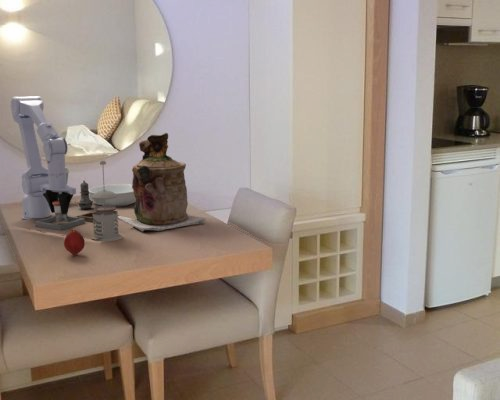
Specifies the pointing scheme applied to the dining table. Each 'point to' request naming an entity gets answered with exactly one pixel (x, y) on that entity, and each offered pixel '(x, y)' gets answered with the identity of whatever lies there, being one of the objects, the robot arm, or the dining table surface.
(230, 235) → the dining table surface
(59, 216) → the pin
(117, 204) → the serving bowl
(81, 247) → the onion
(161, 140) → the cookie jar
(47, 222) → the tray
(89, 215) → the board
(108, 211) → the french press
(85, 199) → the grey tiered figure
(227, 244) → the dining table surface
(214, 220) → the dining table surface
